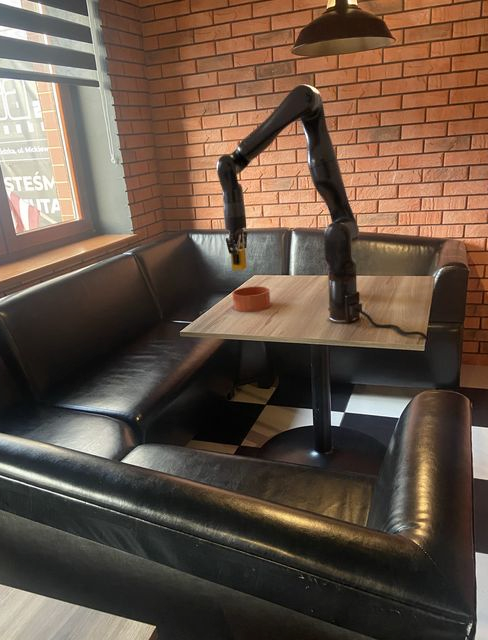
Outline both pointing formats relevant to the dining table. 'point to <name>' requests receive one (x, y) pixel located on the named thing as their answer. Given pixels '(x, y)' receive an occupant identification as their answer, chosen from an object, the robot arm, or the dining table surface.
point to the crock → (251, 298)
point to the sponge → (240, 261)
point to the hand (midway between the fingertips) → (239, 262)
